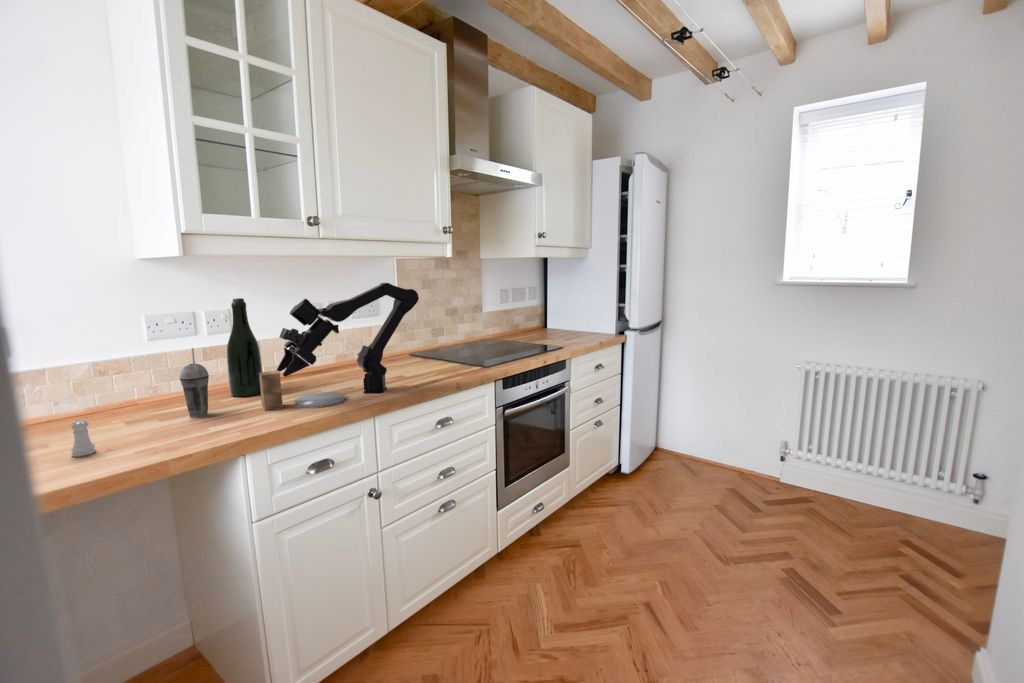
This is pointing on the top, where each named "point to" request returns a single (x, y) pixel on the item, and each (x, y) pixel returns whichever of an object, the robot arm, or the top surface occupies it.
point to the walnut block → (270, 390)
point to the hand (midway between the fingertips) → (280, 373)
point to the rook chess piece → (81, 440)
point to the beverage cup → (195, 388)
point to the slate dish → (319, 399)
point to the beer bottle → (243, 354)
